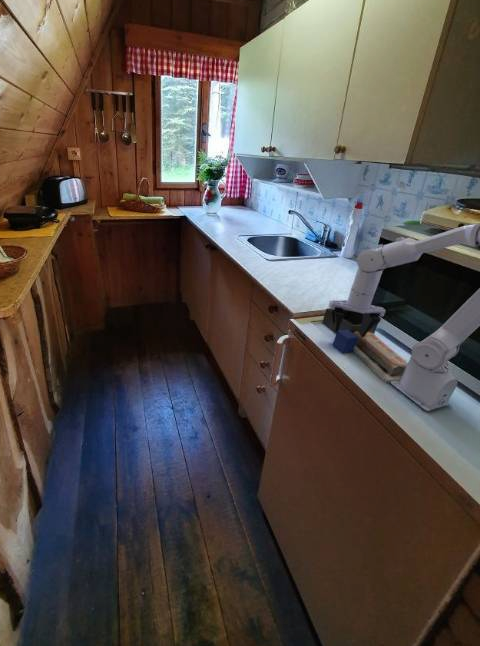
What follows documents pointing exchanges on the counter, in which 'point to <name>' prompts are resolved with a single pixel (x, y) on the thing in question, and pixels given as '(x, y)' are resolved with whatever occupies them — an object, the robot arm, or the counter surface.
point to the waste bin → (347, 321)
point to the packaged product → (379, 357)
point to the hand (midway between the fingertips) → (347, 333)
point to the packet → (345, 341)
